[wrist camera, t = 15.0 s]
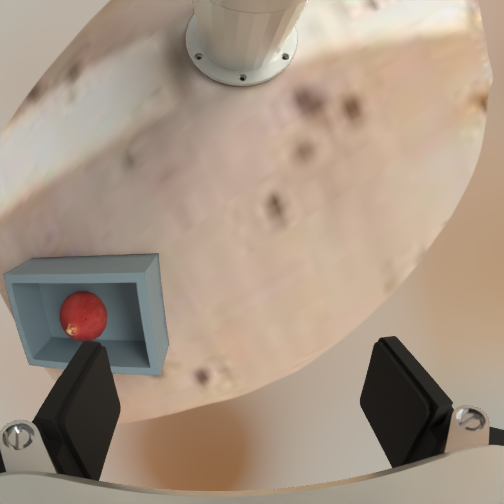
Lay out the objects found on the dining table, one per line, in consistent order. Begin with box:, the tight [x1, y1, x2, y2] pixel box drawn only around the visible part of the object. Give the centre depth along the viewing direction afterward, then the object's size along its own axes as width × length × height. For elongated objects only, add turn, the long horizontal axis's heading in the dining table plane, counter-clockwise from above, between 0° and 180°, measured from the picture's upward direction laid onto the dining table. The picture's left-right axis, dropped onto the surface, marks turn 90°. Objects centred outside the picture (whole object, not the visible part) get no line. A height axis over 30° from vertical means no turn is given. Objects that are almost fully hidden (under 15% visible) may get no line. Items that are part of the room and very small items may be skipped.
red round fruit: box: [60, 291, 108, 342], centre depth 32 cm, size 6×6×8 cm
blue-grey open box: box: [4, 253, 169, 375], centre depth 34 cm, size 12×18×7 cm, turn 91°
